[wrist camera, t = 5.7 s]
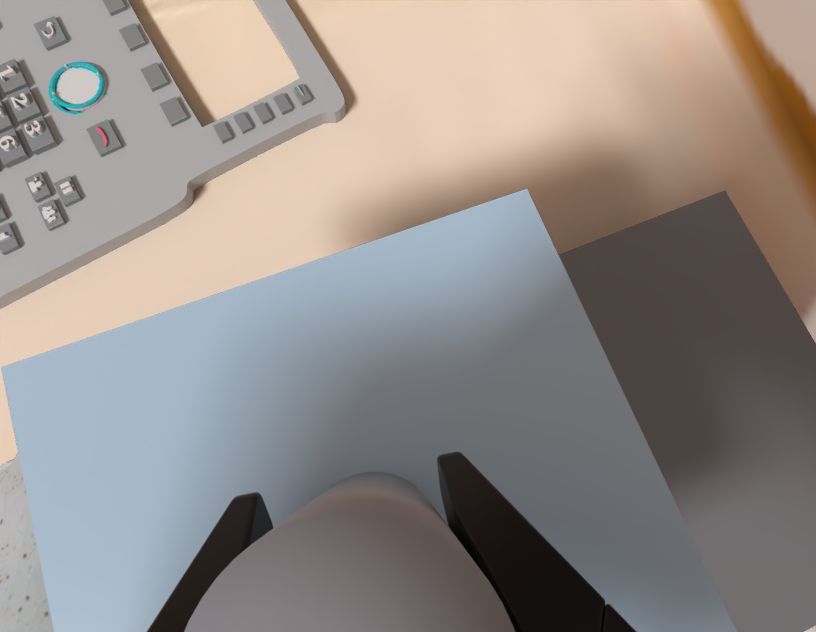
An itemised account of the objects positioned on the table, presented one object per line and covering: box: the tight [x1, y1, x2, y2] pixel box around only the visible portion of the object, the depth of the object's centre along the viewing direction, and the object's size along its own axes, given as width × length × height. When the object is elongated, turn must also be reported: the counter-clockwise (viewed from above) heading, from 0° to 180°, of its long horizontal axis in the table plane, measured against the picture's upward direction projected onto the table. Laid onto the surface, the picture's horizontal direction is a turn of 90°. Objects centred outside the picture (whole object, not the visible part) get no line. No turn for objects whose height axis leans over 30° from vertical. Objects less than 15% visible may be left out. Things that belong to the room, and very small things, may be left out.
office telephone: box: [0, 0, 346, 309], centre depth 26 cm, size 23×3×20 cm
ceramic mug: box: [0, 453, 54, 632], centre depth 17 cm, size 11×8×8 cm
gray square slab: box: [559, 191, 816, 632], centre depth 21 cm, size 15×15×4 cm
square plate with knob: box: [1, 189, 737, 632], centre depth 8 cm, size 13×13×8 cm
